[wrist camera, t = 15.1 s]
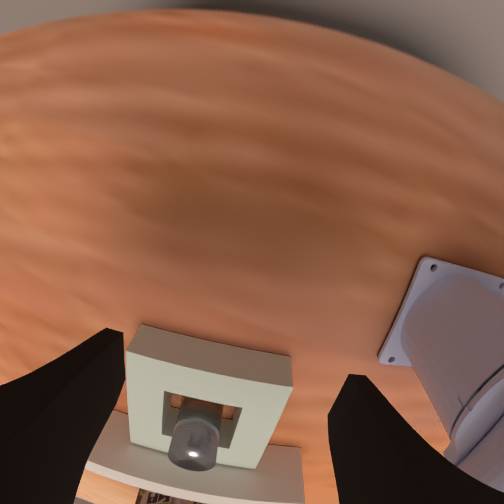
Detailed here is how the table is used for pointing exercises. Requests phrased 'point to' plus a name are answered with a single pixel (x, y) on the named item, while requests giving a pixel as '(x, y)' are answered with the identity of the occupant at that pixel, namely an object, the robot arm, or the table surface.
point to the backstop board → (197, 482)
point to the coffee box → (160, 498)
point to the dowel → (196, 435)
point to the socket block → (205, 391)
